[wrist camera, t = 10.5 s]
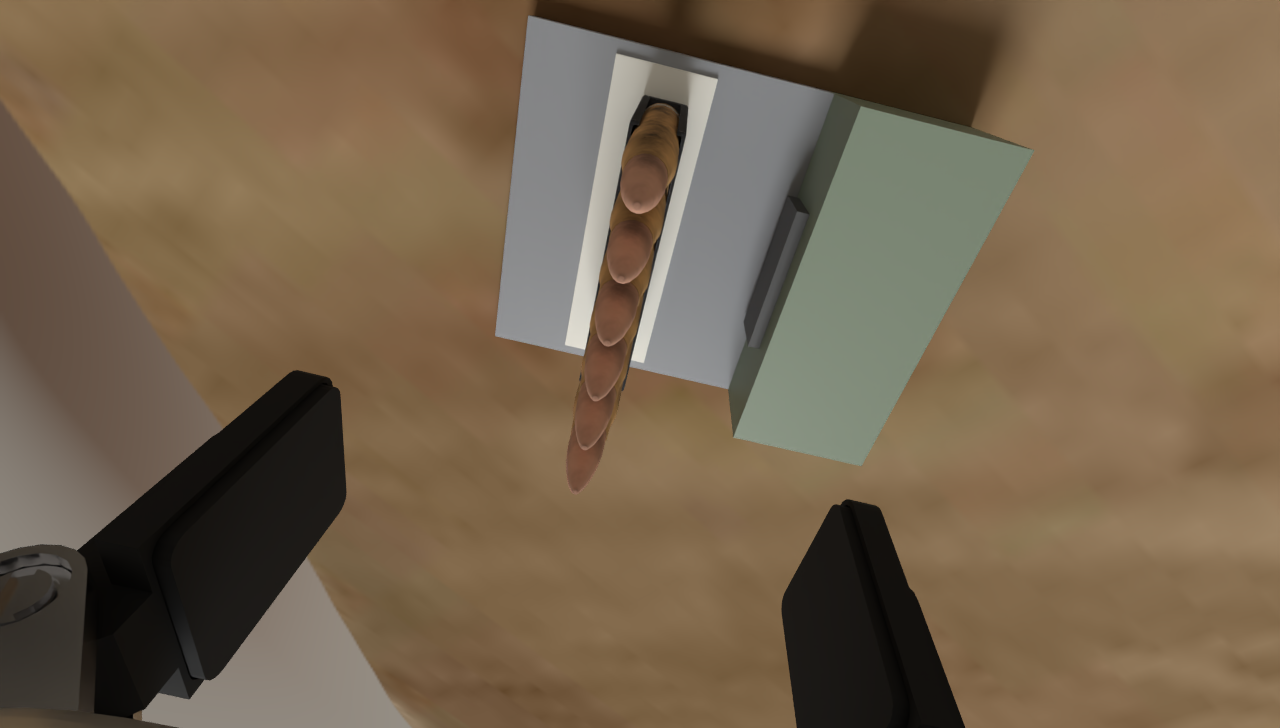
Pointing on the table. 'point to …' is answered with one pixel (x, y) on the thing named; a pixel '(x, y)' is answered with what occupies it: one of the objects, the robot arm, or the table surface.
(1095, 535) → the table surface
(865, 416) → the plate with green block
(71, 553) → the robot arm
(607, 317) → the ammunition clip
